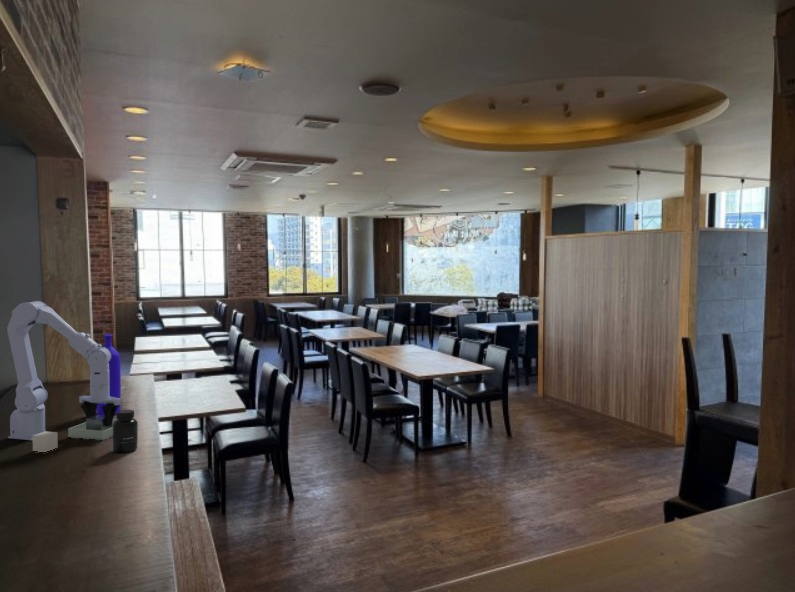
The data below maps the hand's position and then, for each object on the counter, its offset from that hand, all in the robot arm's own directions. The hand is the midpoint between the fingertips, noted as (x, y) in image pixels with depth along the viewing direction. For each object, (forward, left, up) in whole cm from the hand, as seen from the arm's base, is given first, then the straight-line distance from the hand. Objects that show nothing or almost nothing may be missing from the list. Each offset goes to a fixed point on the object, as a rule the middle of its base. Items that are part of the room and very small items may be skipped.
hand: (100, 424), depth 184 cm
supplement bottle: (+20, -12, -3) cm, 23 cm away
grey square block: (0, 0, -2) cm, 2 cm away
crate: (0, 0, -3) cm, 3 cm away
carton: (-3, -18, -3) cm, 19 cm away
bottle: (-15, +23, -3) cm, 27 cm away
